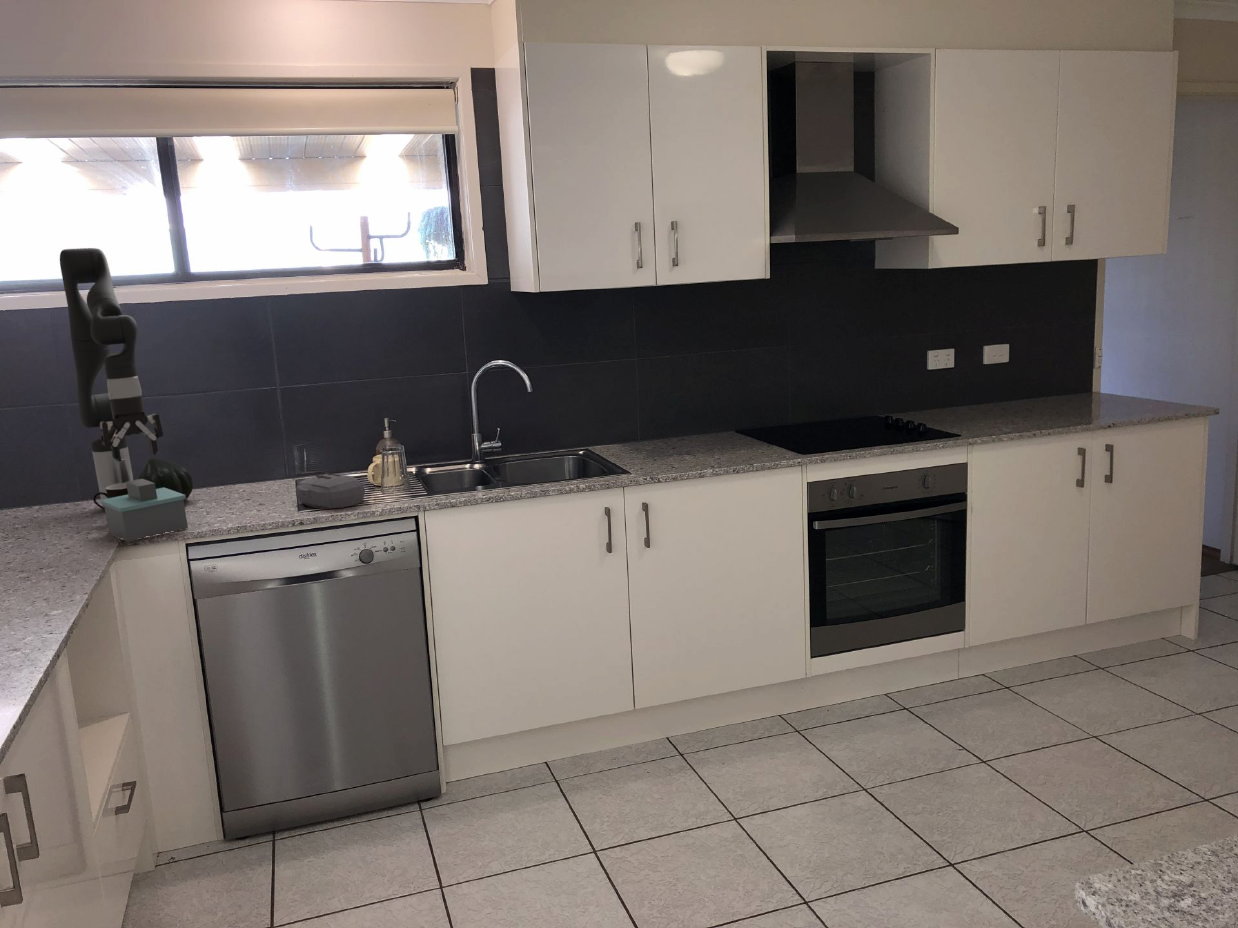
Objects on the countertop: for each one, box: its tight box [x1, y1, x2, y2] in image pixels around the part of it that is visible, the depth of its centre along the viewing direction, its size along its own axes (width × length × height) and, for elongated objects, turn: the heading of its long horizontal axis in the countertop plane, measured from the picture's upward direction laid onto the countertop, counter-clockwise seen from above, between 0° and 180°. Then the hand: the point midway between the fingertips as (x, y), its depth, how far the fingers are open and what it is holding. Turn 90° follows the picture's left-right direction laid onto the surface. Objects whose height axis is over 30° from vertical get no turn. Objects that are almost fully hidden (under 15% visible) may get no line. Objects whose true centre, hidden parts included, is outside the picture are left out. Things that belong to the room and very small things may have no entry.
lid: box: [100, 478, 187, 512], centre depth 257 cm, size 16×16×6 cm
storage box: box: [104, 500, 189, 543], centre depth 258 cm, size 15×15×8 cm
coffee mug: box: [92, 483, 128, 511], centre depth 271 cm, size 12×9×10 cm
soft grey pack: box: [295, 472, 366, 510], centre depth 275 cm, size 15×8×20 cm
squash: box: [137, 457, 194, 501], centre depth 287 cm, size 14×15×15 cm
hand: (136, 457), depth 255 cm, fingers open, 8 cm apart
